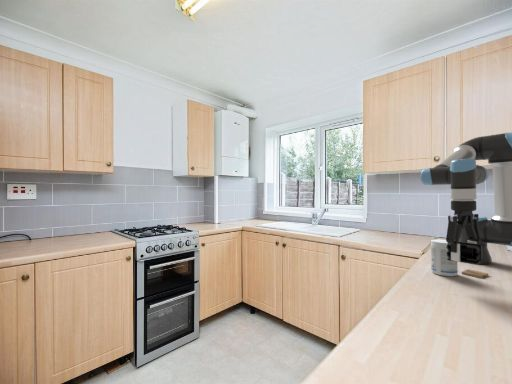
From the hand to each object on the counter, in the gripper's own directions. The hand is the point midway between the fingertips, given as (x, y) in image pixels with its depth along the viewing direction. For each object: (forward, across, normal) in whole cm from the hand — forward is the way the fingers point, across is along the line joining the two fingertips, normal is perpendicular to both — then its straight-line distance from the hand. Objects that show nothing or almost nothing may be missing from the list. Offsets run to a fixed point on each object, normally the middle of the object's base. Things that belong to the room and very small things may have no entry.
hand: (463, 259), depth 97 cm
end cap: (+1, 0, 0) cm, 1 cm away
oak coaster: (+12, -22, -9) cm, 27 cm away
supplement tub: (+12, -11, -15) cm, 22 cm away
